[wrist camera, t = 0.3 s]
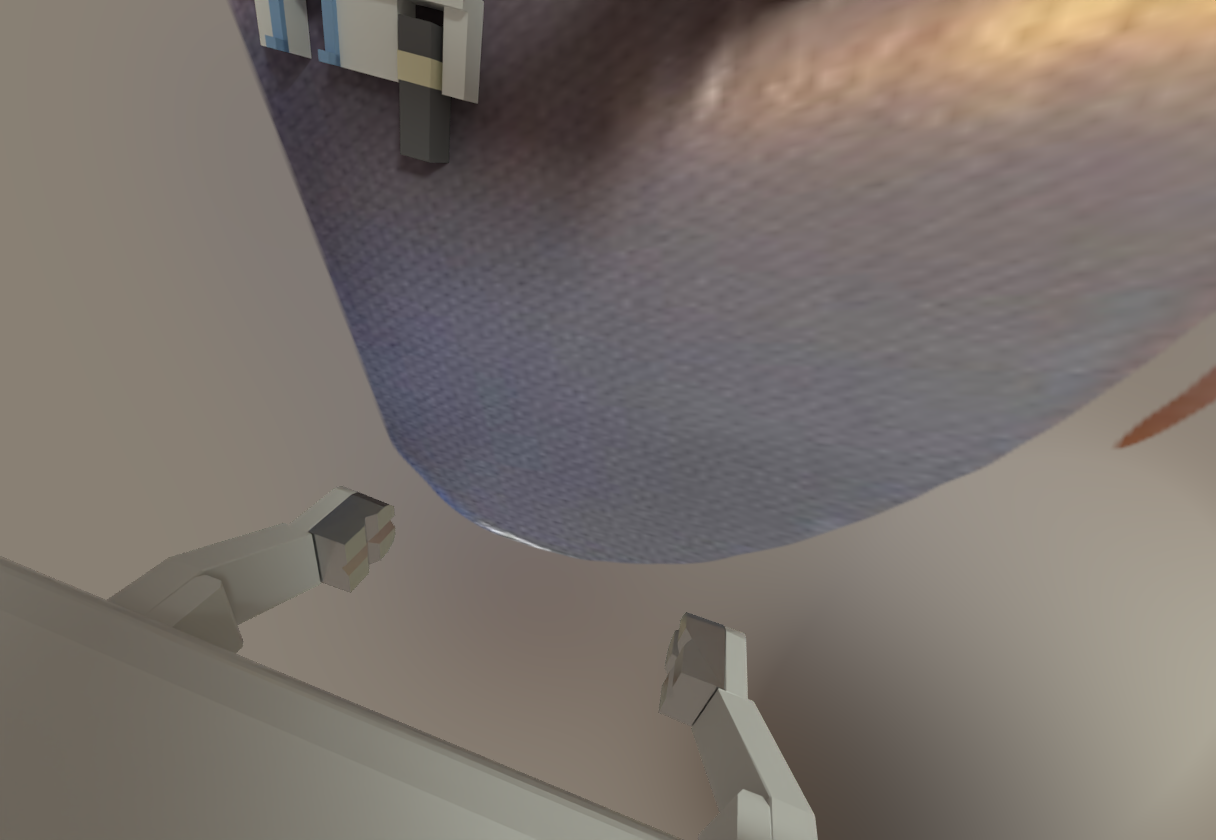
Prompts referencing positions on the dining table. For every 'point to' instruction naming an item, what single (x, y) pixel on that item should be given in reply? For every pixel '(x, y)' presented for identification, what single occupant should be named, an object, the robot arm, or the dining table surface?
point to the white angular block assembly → (378, 36)
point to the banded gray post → (422, 91)
